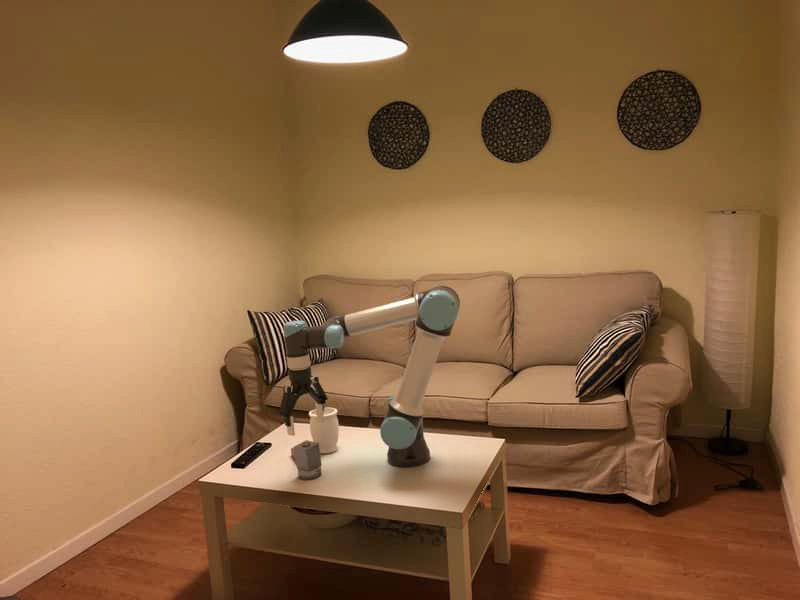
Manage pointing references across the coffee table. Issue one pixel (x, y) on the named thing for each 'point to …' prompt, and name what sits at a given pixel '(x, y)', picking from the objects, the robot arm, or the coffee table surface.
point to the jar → (325, 430)
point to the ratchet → (307, 475)
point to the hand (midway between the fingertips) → (306, 428)
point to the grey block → (307, 456)
